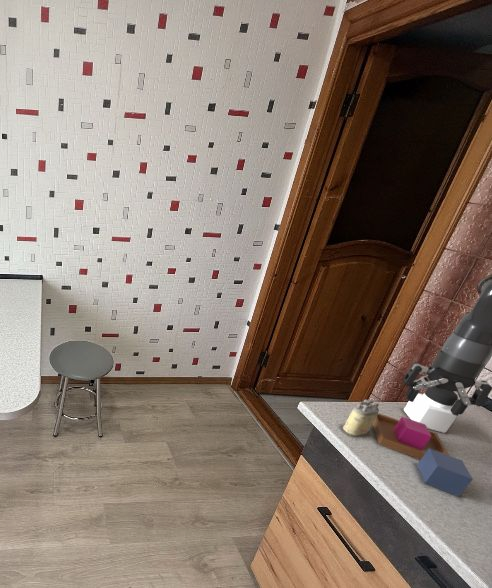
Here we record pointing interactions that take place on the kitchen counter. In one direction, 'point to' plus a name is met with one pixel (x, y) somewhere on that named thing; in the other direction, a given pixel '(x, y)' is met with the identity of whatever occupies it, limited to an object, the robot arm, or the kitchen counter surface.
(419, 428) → the mulberry block
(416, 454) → the tray
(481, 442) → the kitchen counter surface
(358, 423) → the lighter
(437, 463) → the slate block
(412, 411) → the medicine bottle
